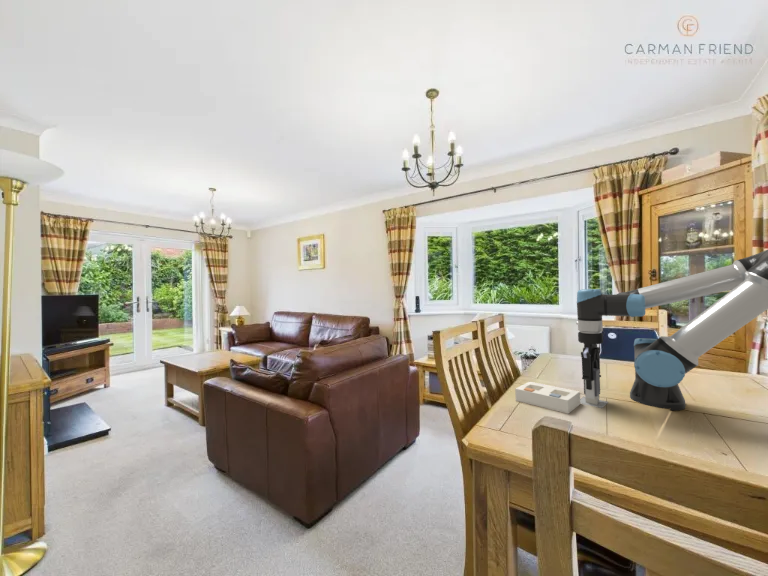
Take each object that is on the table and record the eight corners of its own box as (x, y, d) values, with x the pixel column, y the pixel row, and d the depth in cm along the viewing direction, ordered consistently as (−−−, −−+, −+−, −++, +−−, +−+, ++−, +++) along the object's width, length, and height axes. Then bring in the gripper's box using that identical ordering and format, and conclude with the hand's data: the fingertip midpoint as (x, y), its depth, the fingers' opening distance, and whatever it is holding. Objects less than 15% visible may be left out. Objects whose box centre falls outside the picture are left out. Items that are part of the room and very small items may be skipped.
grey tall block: (600, 402, 115) (599, 368, 115) (597, 405, 112) (596, 371, 112) (587, 399, 118) (586, 367, 118) (584, 402, 115) (583, 369, 115)
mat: (608, 403, 114) (608, 401, 114) (602, 409, 109) (602, 408, 109) (583, 398, 120) (583, 396, 120) (576, 403, 115) (576, 402, 115)
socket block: (580, 405, 114) (579, 390, 114) (568, 415, 106) (567, 399, 106) (529, 393, 127) (529, 380, 127) (515, 401, 119) (515, 387, 119)
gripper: (586, 328, 123) (588, 388, 123) (570, 333, 112) (572, 400, 112) (609, 329, 117) (611, 392, 118) (594, 335, 106) (597, 405, 106)
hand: (592, 396), depth 115 cm, fingers closed on grey tall block, 4 cm apart
